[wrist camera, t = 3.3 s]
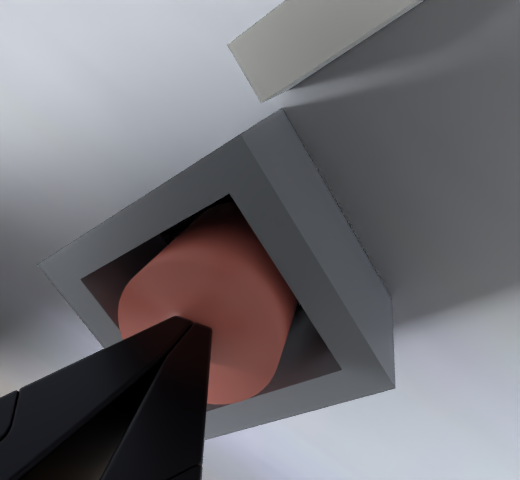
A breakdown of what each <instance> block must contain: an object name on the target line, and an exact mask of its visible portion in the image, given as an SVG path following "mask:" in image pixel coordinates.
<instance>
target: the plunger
mask: <svg viewBox="0 0 520 480" xmlns="http://www.w3.org/2000/svg"><path fill="white" fill-rule="evenodd" d="M298 302H299V301H298V300H297V298H296V297H295V295H294V294H293V292H292V290H291V289H290V287H289V286H288V284H287V283H286V281H285V280H284V278H283V276H282V275H281V273H280V272H279V270H278V269H277V267H276V265H275V264H274V262H273V261H272V259H271V258H270V256H269V255H268V253H267V251H266V250H265V248H264V247H263V245H262V244H261V242H260V240H259V239H258V237H257V236H256V234H255V233H254V231H253V230H252V228H251V226H250V225H249V223H248V222H247V220H246V219H245V217H244V216H243V214H242V212H241V211H240V209H239V208H238V206H237V205H236V203H235V202H228V203H222V204H219V205H216V206H214V207H211V208H209V209H208V210H206V211H205V212H203V213H202V214H201V215H200V216H198V217H197V218H196V219H195V220H194V221H193V222H192V223H191V224H190V225H189V226H188V227H187V228H186V229H185V230H183V231H182V232H181V233H180V234H179V235H178V236H177V237H176V238H175V239H174V240H173V241H172V242H171V243H170V244H168V245H167V246H166V247H165V248H164V249H163V250H162V251H161V252H160V253H159V254H158V255H157V256H156V257H155V258H153V259H152V260H151V261H150V262H149V263H148V264H147V265H146V266H145V267H144V268H143V269H142V270H141V271H140V272H139V273H137V274H136V275H135V276H134V277H133V278H132V279H131V280H130V281H129V283H128V284H127V285H126V287H125V289H124V291H123V293H122V295H121V298H120V301H119V307H118V323H119V329H120V332H121V336H122V339H123V340H124V339H126V338H128V337H130V336H132V335H134V334H137V333H139V332H141V331H143V330H145V329H147V328H149V327H151V326H153V325H156V324H158V323H160V322H162V321H164V320H166V319H168V318H170V317H173V316H180V317H183V318H186V319H189V320H191V321H192V322H193V324H194V323H200V324H202V325H205V326H208V327H211V328H212V330H213V334H212V347H211V360H210V373H209V386H208V399H207V404H232V403H237V402H241V401H244V400H246V399H249V398H251V397H253V396H254V395H256V394H258V393H259V392H260V391H262V390H263V389H264V388H265V387H266V386H267V385H268V384H269V382H270V381H271V379H272V378H273V376H274V374H275V372H276V369H277V367H278V364H279V360H280V357H281V354H282V351H283V348H284V345H285V342H286V339H287V336H288V333H289V330H290V326H291V323H292V320H293V317H294V314H295V311H296V308H297V305H298Z"/></svg>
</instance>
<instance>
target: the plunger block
mask: <svg viewBox="0 0 520 480" xmlns="http://www.w3.org/2000/svg"><path fill="white" fill-rule="evenodd" d="M227 194H230V195H231V197H232V198H233V200H234V201H235V203H236V205H237V206H238V208H239V209H240V211H241V212H242V214H243V216H244V217H245V219H246V220H247V222H248V223H249V225H250V226H251V228H252V230H253V231H254V233H255V234H256V236H257V237H258V239H259V240H260V242H261V244H262V245H263V247H264V248H265V250H266V251H267V253H268V255H269V256H270V258H271V259H272V261H273V262H274V264H275V265H276V267H277V269H278V270H279V272H280V273H281V275H282V276H283V278H284V280H285V281H286V283H287V284H288V286H289V287H290V289H291V290H292V292H293V294H294V295H295V297H296V298H297V300H298V301H299V303H300V305H301V306H302V307H300V308H297V309H296V311H295V314H294V317H293V320H292V323H291V326H290V330H289V333H288V336H287V339H286V342H285V345H284V348H283V351H282V354H281V357H280V360H279V364H278V367H277V369H276V372H275V374H274V376H273V378H272V379H271V381H270V382H269V384H268V385H267V386H266V387H265V388H264V389H263V390H262V391H260V392H259V393H258V394H256V395H254V396H253V397H251V398H249V399H246V400H244V401H241V402H237V403H232V404H207V412H206V425H205V438H204V440H207V439H211V438H214V437H218V436H222V435H225V434H229V433H233V432H236V431H240V430H244V429H247V428H251V427H255V426H258V425H262V424H266V423H270V422H273V421H277V420H281V419H284V418H288V417H292V416H295V415H299V414H303V413H306V412H310V411H314V410H317V409H321V408H325V407H328V406H332V405H336V404H339V403H343V402H347V401H351V400H354V399H358V398H362V397H365V396H369V395H373V394H376V393H380V392H384V391H387V390H391V389H395V364H394V340H393V315H392V299H391V297H390V295H389V293H388V292H387V290H386V288H385V286H384V285H383V283H382V281H381V279H380V278H379V276H378V274H377V273H376V271H375V269H374V267H373V266H372V264H371V262H370V260H369V259H368V257H367V255H366V253H365V252H364V250H363V248H362V246H361V245H360V243H359V241H358V240H357V238H356V236H355V234H354V233H353V231H352V229H351V227H350V226H349V224H348V222H347V220H346V219H345V217H344V215H343V214H342V212H341V210H340V208H339V207H338V205H337V203H336V201H335V200H334V198H333V196H332V194H331V193H330V191H329V189H328V187H327V186H326V184H325V182H324V181H323V179H322V177H321V175H320V174H319V172H318V170H317V168H316V167H315V165H314V163H313V161H312V160H311V158H310V156H309V154H308V153H307V151H306V149H305V148H304V146H303V144H302V142H301V141H300V139H299V137H298V135H297V134H296V132H295V130H294V128H293V127H292V125H291V123H290V121H289V120H288V118H287V116H286V115H285V113H284V111H283V109H282V108H281V109H280V110H278V111H276V112H275V113H273V114H272V115H270V116H268V117H267V118H265V119H264V120H262V121H260V122H259V123H257V124H256V125H254V126H253V127H251V128H249V129H248V130H246V131H245V132H243V133H241V134H240V135H238V136H237V137H235V138H234V139H232V140H230V141H229V142H227V143H226V144H224V145H223V146H221V147H220V148H218V149H216V150H215V151H213V152H212V153H210V154H209V155H207V156H206V157H204V158H202V159H201V160H199V161H198V162H196V163H195V164H193V165H192V166H190V167H188V168H187V169H185V170H184V171H182V172H181V173H179V174H178V175H176V176H174V177H173V178H171V179H170V180H168V181H167V182H165V183H163V184H162V185H160V186H159V187H157V188H156V189H154V190H153V191H151V192H149V193H148V194H146V195H145V196H143V197H142V198H140V199H139V200H137V201H135V202H134V203H132V204H131V205H129V206H128V207H126V208H125V209H123V210H121V211H120V212H118V213H117V214H115V215H114V216H112V217H111V218H109V219H107V220H106V221H104V222H103V223H101V224H100V225H98V226H96V227H95V228H93V229H92V230H90V231H89V232H87V233H86V234H84V235H82V236H81V237H79V238H78V239H76V240H75V241H73V242H72V243H70V244H68V245H67V246H65V247H64V248H62V249H61V250H59V251H58V252H56V253H54V254H53V255H51V256H50V257H48V258H47V259H45V260H43V261H42V262H40V263H39V264H37V265H38V266H39V267H40V269H41V270H42V271H43V272H44V274H45V275H46V276H47V277H48V279H49V280H50V281H51V282H52V284H53V285H54V286H55V287H56V289H57V290H58V291H59V292H60V294H61V295H62V296H63V297H64V299H65V300H66V301H67V302H68V304H69V305H70V306H71V307H72V309H73V310H74V311H75V312H76V314H77V315H78V316H79V317H80V319H81V320H82V321H83V322H84V324H85V325H86V326H87V327H88V329H89V330H90V331H91V332H92V334H93V335H94V336H95V337H96V339H97V340H98V341H99V342H100V344H101V345H102V346H103V347H104V349H105V348H107V347H109V346H111V345H113V344H115V343H117V342H120V341H122V340H123V339H122V336H121V332H120V329H119V323H118V307H119V301H120V298H121V295H122V293H123V291H124V289H125V287H126V285H127V284H128V283H129V281H130V280H131V279H132V278H133V277H134V276H135V275H136V274H137V273H139V272H140V271H141V270H142V269H143V268H144V267H145V266H146V265H147V264H148V263H149V262H150V261H151V260H152V259H153V258H155V257H156V256H157V255H158V254H159V253H160V252H161V251H162V250H163V249H164V248H165V247H166V246H167V243H166V242H165V241H164V239H163V238H162V236H161V235H160V233H161V232H163V231H165V230H167V229H168V228H170V227H172V226H174V225H175V224H177V223H179V222H181V221H182V220H184V219H186V218H188V217H189V216H191V215H193V214H194V213H196V212H198V211H200V210H201V209H203V208H205V207H207V206H208V205H210V204H212V203H214V202H215V201H217V200H219V199H221V198H222V197H224V196H226V195H227Z"/></svg>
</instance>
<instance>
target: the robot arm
mask: <svg viewBox="0 0 520 480" xmlns="http://www.w3.org/2000/svg"><path fill="white" fill-rule="evenodd" d="M212 334H213V330H212V328H211V327H208V326H205V325H202V324H200V323H194V324H193V322H192V321H191V320H189V319H186V318H183V317H180V316H173V317H170V318H168V319H166V320H164V321H162V322H160V323H158V324H156V325H153V326H151V327H149V328H147V329H145V330H143V331H141V332H139V333H137V334H134V335H132V336H130V337H128V338H126V339H124V340H122V341H120V342H117V343H115V344H113V345H111V346H109V347H107V348H105V349H103V350H100V351H98V352H96V353H94V354H92V355H90V356H88V357H86V358H84V359H81V360H79V361H77V362H75V363H73V364H71V365H69V366H67V367H64V368H62V369H60V370H58V371H56V372H54V373H52V374H50V375H47V376H45V377H43V378H41V379H39V380H37V381H35V382H33V383H31V384H28V385H26V386H24V387H22V388H21V389H20V390H19V392H18V391H17V390H16V391H13V392H11V393H9V394H7V395H5V396H3V397H0V480H202V463H203V451H204V438H205V425H206V412H207V399H208V386H209V373H210V360H211V347H212Z"/></svg>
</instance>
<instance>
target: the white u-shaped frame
mask: <svg viewBox="0 0 520 480" xmlns="http://www.w3.org/2000/svg"><path fill="white" fill-rule="evenodd" d="M423 1H424V0H285V1H284V2H283V3H281V4H280V5H279V6H277V7H276V8H275V9H273V10H272V11H271V12H270V13H268V14H267V15H266V16H264V17H263V18H262V19H260V20H259V21H258V22H257V23H255V24H254V25H253V26H251V27H250V28H249V29H247V30H246V31H245V32H243V33H242V34H241V35H240V36H238V37H237V38H236V39H234V40H233V41H232V42H230V43H229V44H228V45H227V46H228V47H229V49H230V51H231V52H232V54H233V56H234V58H235V59H236V61H237V63H238V64H239V66H240V68H241V69H242V71H243V73H244V75H245V76H246V78H247V80H248V81H249V83H250V85H251V87H252V88H253V90H254V92H255V93H256V95H257V97H258V98H259V100H260V102H261V103H262V102H265V101H267V100H269V99H271V98H273V97H275V96H277V95H279V94H281V93H283V92H285V91H287V90H289V89H290V88H292V87H293V86H295V85H296V84H298V83H300V82H301V81H303V80H304V79H306V78H307V77H309V76H310V75H312V74H313V73H315V72H316V71H318V70H319V69H321V68H322V67H324V66H325V65H327V64H328V63H330V62H331V61H333V60H334V59H336V58H338V57H339V56H341V55H342V54H344V53H345V52H347V51H348V50H350V49H351V48H353V47H354V46H356V45H357V44H359V43H360V42H362V41H363V40H365V39H366V38H368V37H369V36H371V35H372V34H374V33H376V32H377V31H379V30H380V29H382V28H383V27H385V26H386V25H388V24H389V23H391V22H392V21H394V20H395V19H397V18H398V17H400V16H401V15H403V14H404V13H406V12H407V11H409V10H410V9H412V8H414V7H415V6H417V5H418V4H420V3H421V2H423Z"/></svg>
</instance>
